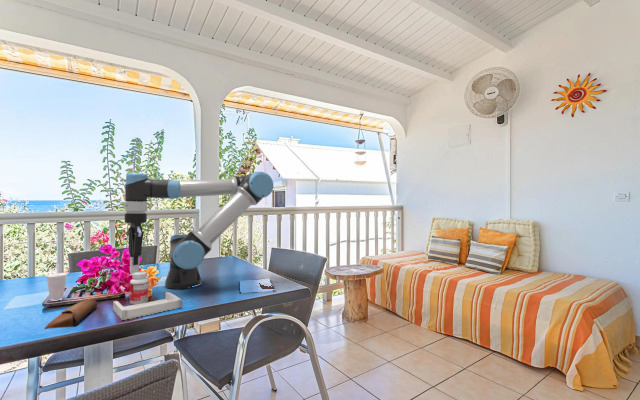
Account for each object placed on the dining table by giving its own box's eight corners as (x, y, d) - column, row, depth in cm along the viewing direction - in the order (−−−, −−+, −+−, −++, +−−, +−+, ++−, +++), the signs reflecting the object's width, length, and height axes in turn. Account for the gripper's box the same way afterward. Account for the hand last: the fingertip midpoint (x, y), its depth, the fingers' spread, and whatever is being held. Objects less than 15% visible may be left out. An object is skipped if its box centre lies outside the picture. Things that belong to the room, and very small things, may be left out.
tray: (168, 299, 123) (168, 291, 123) (181, 308, 114) (181, 299, 114) (113, 310, 110) (113, 301, 110) (122, 320, 101) (123, 311, 101)
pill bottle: (132, 300, 121) (133, 271, 121) (150, 299, 123) (150, 270, 123) (127, 305, 115) (127, 275, 115) (145, 304, 117) (146, 274, 117)
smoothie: (54, 303, 116) (55, 265, 116) (40, 302, 117) (41, 264, 118) (71, 298, 122) (72, 262, 123) (58, 297, 124) (59, 261, 124)
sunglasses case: (68, 309, 110) (80, 292, 111) (88, 318, 112) (100, 301, 113) (42, 329, 93) (57, 308, 94) (66, 339, 95) (81, 318, 96)
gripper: (120, 212, 126) (119, 271, 126) (129, 213, 117) (127, 277, 116) (141, 212, 131) (140, 269, 131) (151, 213, 122) (149, 274, 122)
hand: (134, 272), depth 124 cm, fingers closed
